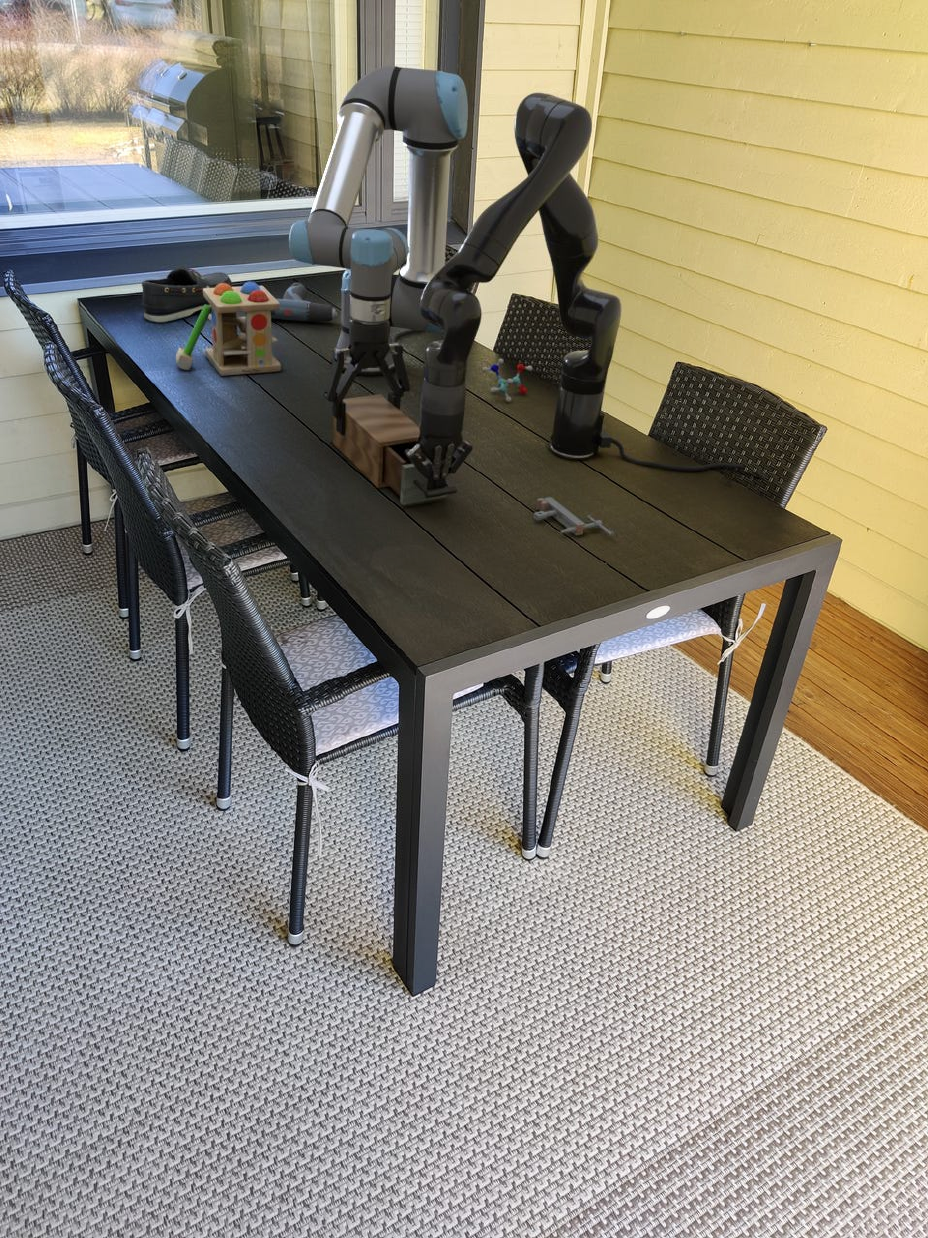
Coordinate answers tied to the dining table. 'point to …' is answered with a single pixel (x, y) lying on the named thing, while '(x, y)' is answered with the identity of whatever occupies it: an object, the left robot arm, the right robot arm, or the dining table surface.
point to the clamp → (565, 517)
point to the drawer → (409, 476)
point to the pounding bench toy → (229, 347)
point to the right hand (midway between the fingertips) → (435, 494)
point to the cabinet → (372, 433)
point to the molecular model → (504, 384)
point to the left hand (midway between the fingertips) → (366, 428)
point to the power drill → (301, 307)
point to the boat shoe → (178, 294)
